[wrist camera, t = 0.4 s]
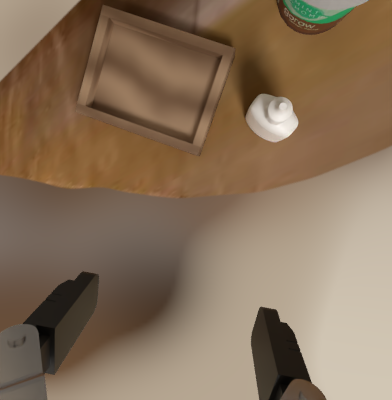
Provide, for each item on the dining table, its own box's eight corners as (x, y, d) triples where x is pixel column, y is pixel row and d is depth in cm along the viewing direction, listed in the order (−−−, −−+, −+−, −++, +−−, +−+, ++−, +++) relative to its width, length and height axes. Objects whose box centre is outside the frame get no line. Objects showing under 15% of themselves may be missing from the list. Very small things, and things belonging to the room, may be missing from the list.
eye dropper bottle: (257, 150, 37) (271, 144, 25) (241, 112, 37) (249, 88, 25) (287, 137, 36) (317, 124, 25) (272, 98, 36) (294, 66, 24)
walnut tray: (111, 15, 37) (102, 4, 34) (234, 56, 36) (235, 48, 33) (84, 114, 39) (74, 111, 37) (199, 156, 38) (197, 155, 36)
